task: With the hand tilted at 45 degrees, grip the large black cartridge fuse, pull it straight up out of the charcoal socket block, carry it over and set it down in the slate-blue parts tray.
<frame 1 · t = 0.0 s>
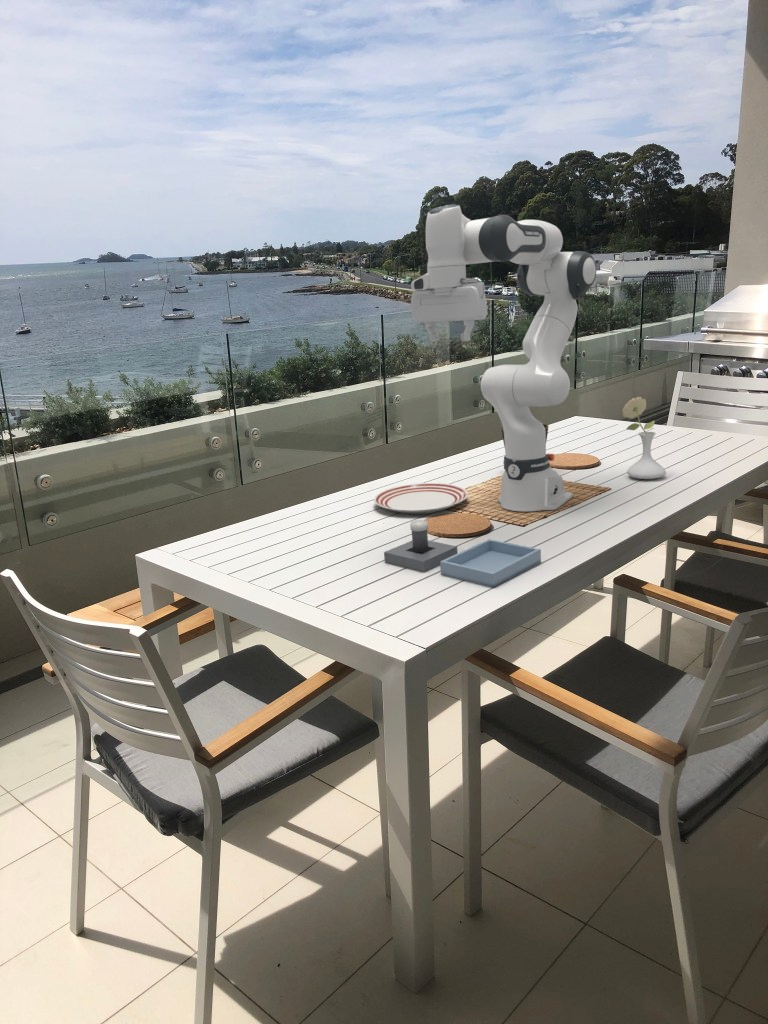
hand: (449, 341, 179), 48 cm above the table, tool pointing down, fingers open, 8 cm apart
dinner plate: (421, 506, 222), on the table
flower in vase: (643, 478, 233), on the table
plant pot: (525, 475, 247), on the table
parts tray: (491, 568, 167), on the table
fuse: (420, 541, 175), in the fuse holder
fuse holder: (421, 559, 176), on the table
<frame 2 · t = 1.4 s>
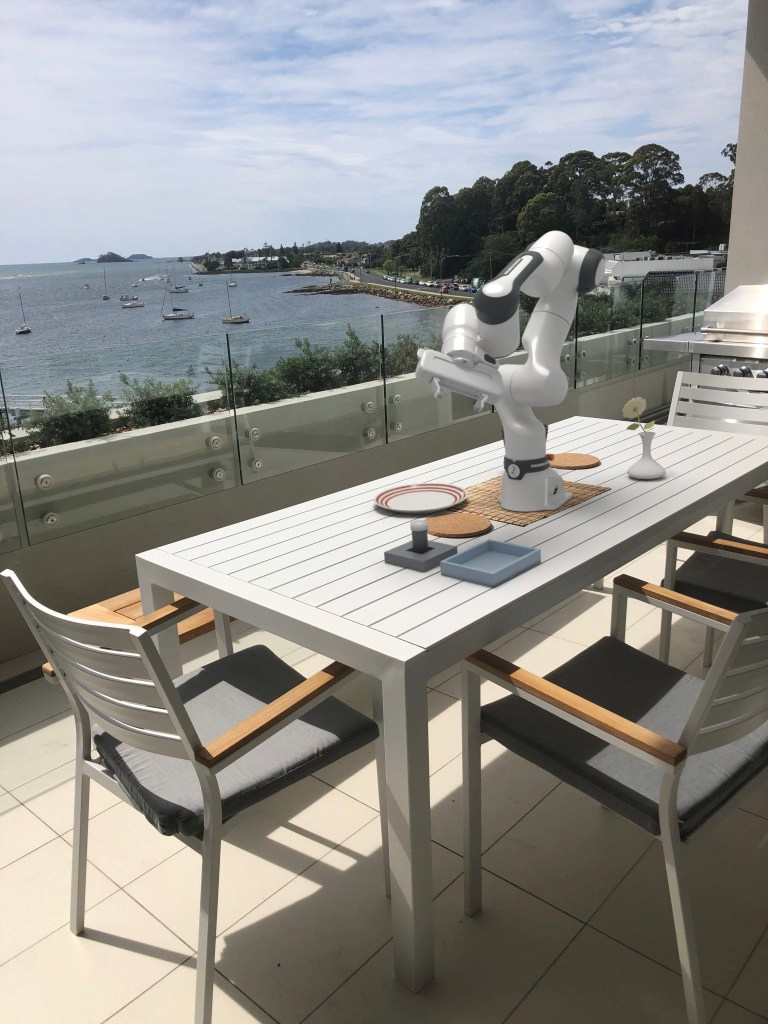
hand: (458, 403, 165), 36 cm above the table, tool tilted 55°, fingers open, 8 cm apart
nothing on the table moved.
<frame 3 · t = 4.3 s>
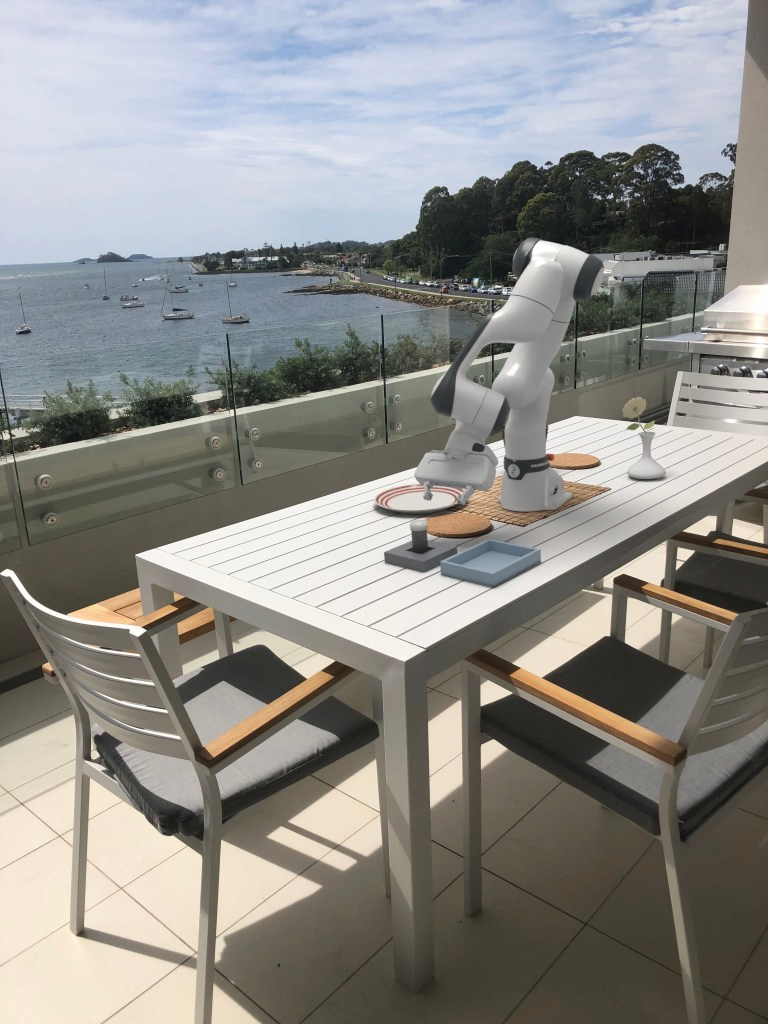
hand: (443, 501, 178), 12 cm above the table, tool tilted 45°, fingers open, 8 cm apart
nothing on the table moved.
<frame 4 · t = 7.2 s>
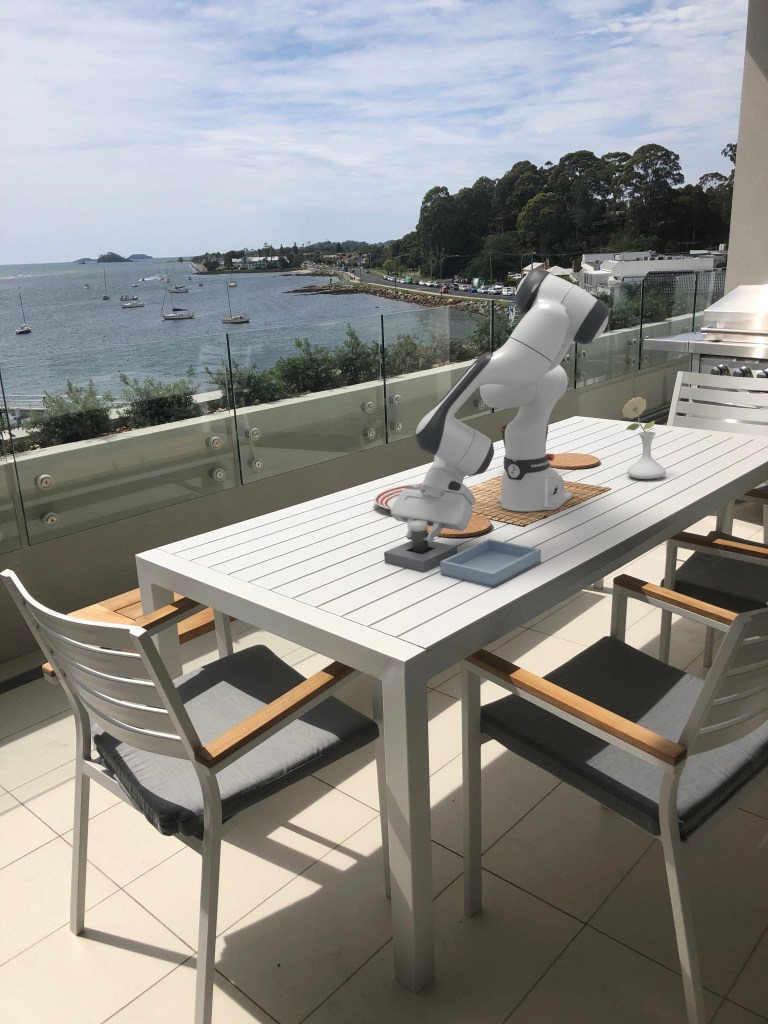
hand: (418, 540, 174), 5 cm above the table, tool tilted 45°, fingers closed on fuse, 4 cm apart
fuse: (419, 541, 175), in the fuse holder, touching gripper
everything else where it was.
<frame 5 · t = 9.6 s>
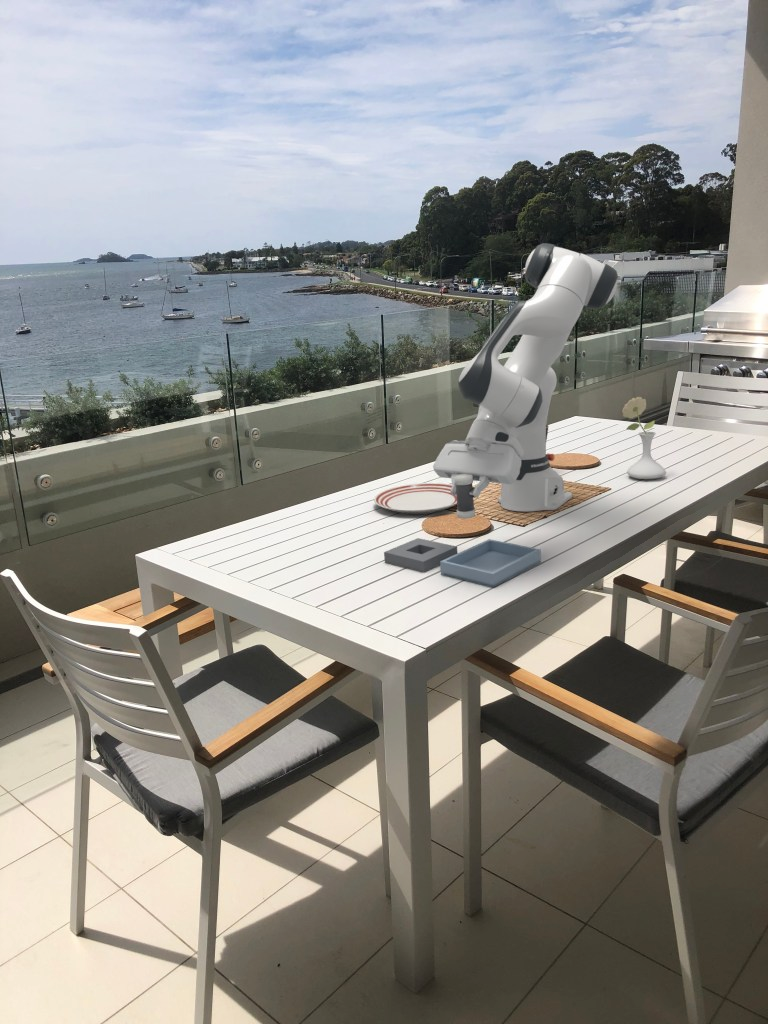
hand: (463, 495, 165), 17 cm above the table, tool tilted 45°, fingers closed on fuse, 4 cm apart
fuse: (464, 496, 165), point 16 cm above the table, touching gripper
everything else where it was.
when the fingers open (7 cm above the table, at t = 12.4 s): fuse drops 2 cm, resting on parts tray.
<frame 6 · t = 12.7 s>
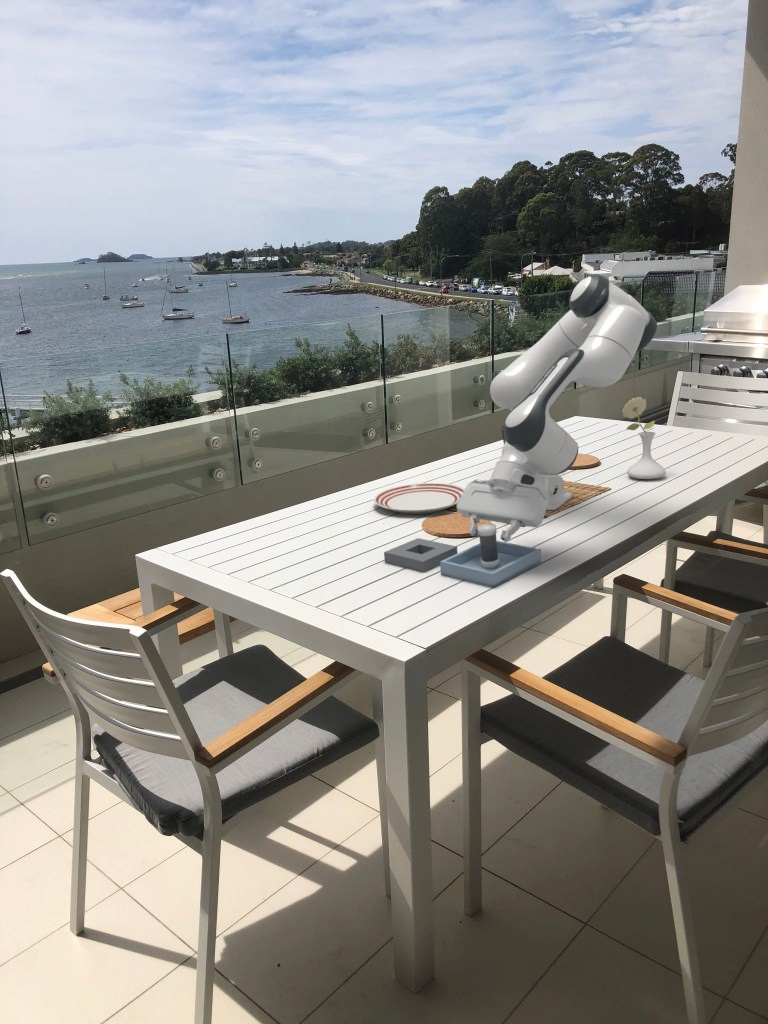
hand: (488, 537, 165), 7 cm above the table, tool tilted 45°, fingers open, 6 cm apart
fuse: (488, 545, 166), in the parts tray, point 5 cm above the table
everything else where it was.
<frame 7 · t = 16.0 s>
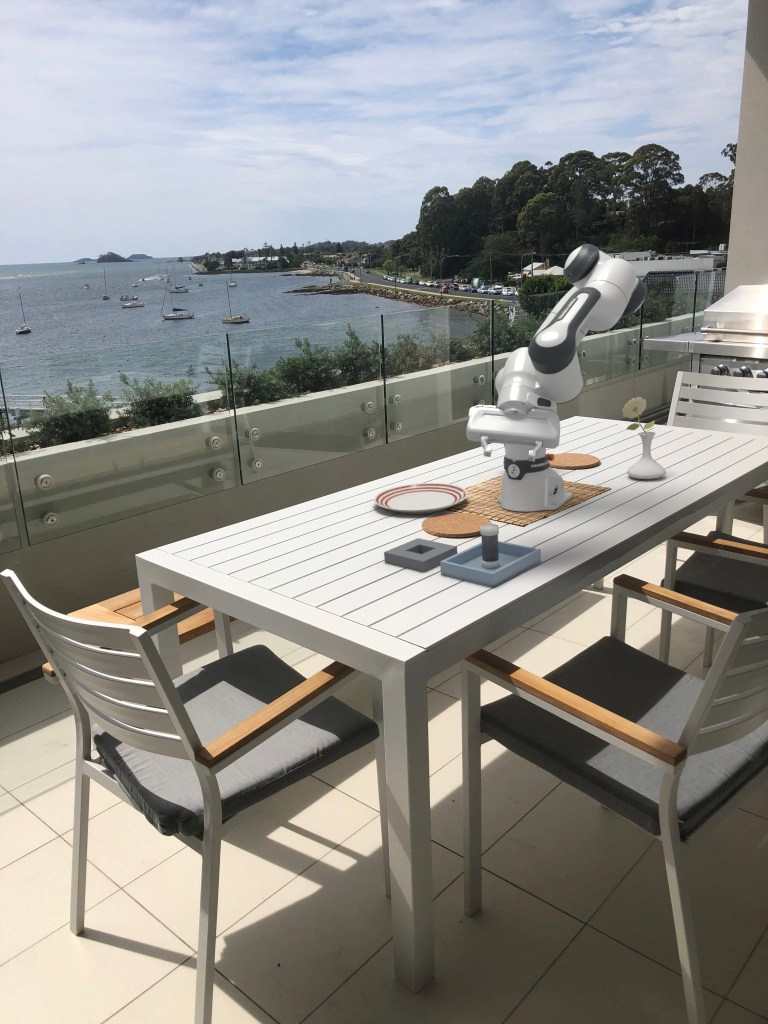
hand: (509, 457, 162), 24 cm above the table, tool tilted 50°, fingers open, 8 cm apart
nothing on the table moved.
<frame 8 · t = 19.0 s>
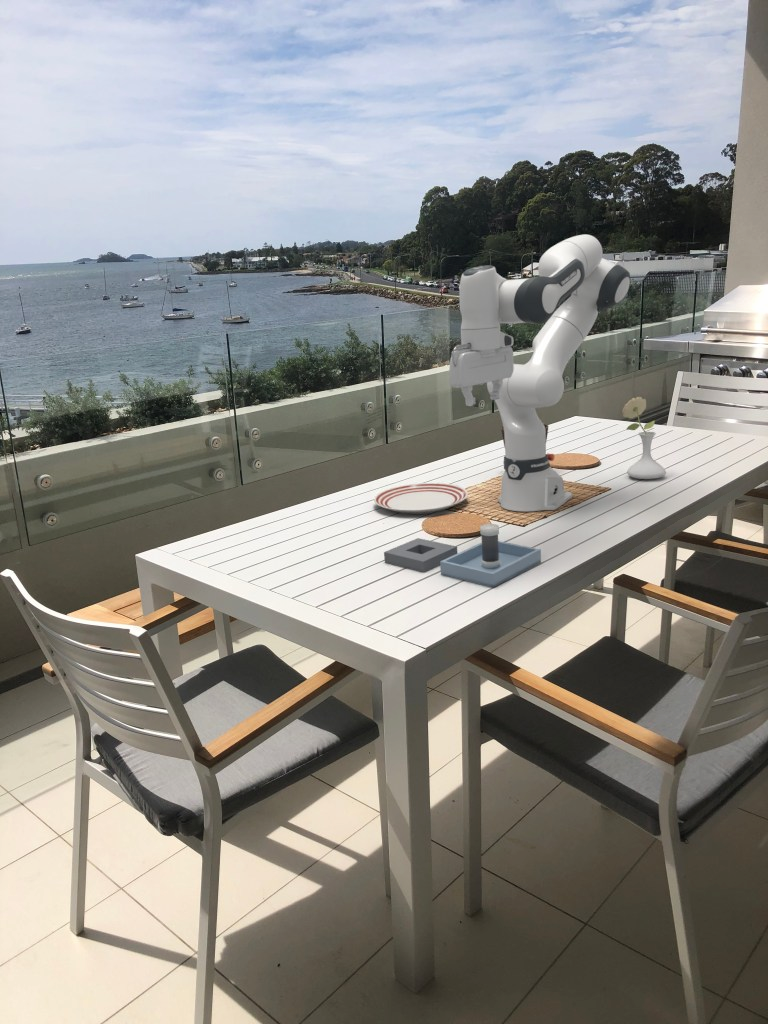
hand: (483, 402, 175), 34 cm above the table, tool pointing down, fingers open, 8 cm apart
nothing on the table moved.
at the end: fuse inside the target area on the parts tray (0.1 cm from its centre), point 5.1 cm above the parts tray's base; the gripper is holding nothing; fuse touching parts tray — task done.
